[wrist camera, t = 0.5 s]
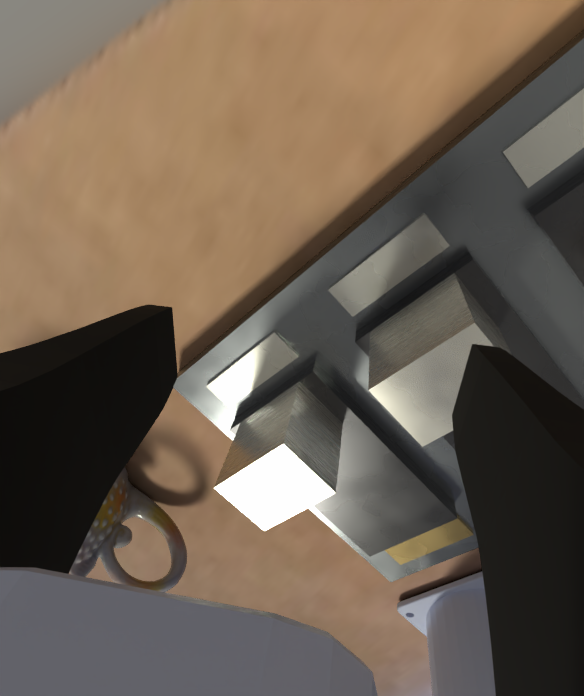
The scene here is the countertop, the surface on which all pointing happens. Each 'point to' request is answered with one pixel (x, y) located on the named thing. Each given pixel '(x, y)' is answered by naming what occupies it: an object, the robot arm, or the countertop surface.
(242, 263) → the countertop surface
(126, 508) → the mug
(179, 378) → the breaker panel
